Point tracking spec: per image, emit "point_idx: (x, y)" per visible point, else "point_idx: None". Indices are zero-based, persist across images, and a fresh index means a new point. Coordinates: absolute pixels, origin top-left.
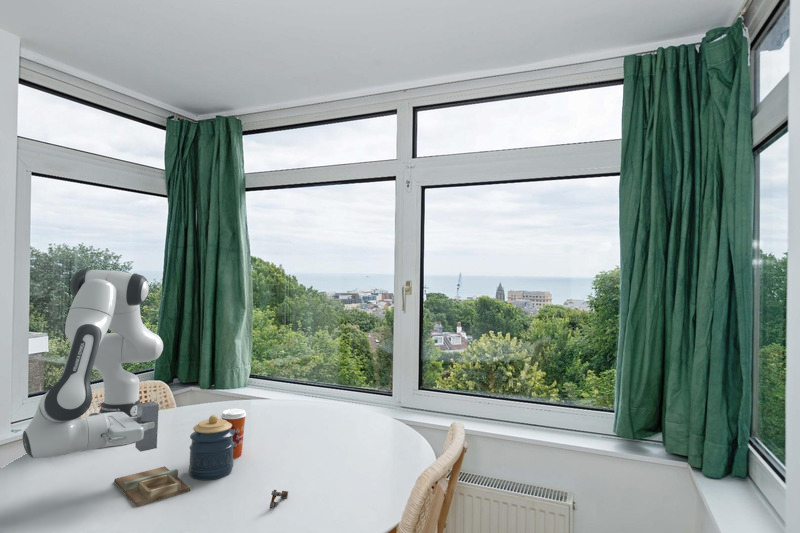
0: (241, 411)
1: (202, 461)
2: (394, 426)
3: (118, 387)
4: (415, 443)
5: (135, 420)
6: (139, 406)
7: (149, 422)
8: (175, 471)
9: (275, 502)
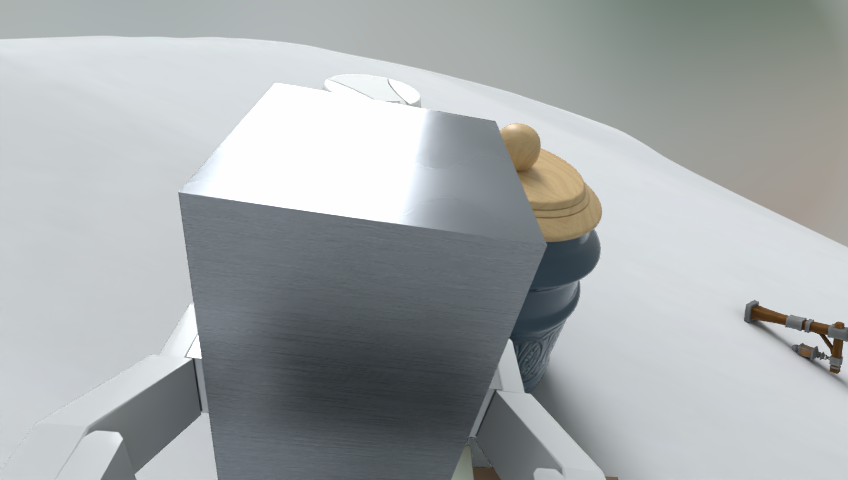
0: (394, 84)
1: (547, 348)
2: (448, 79)
3: None
4: (545, 107)
5: (133, 436)
6: (346, 243)
7: (508, 373)
8: (471, 461)
9: (816, 349)
